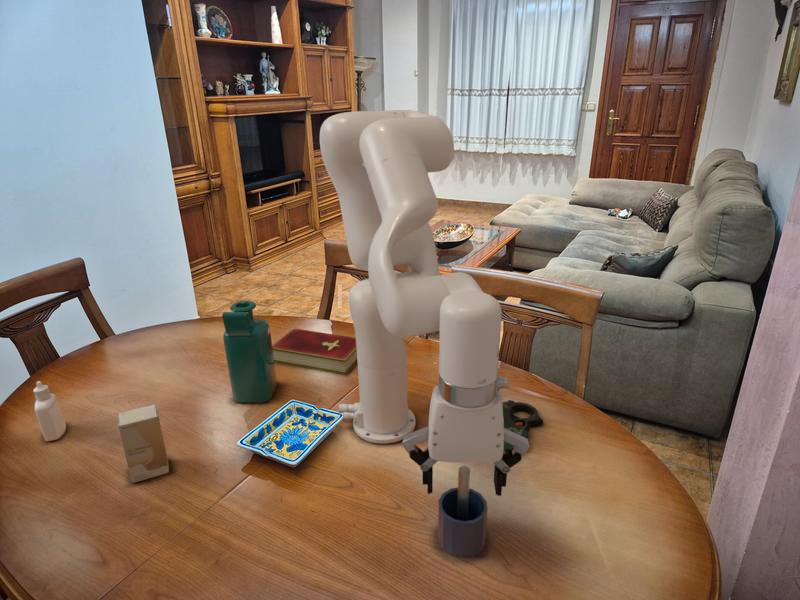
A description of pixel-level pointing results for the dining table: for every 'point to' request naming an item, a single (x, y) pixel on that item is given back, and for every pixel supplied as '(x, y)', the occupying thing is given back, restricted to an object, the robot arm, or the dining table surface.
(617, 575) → the dining table surface
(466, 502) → the stylus
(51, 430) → the eye dropper bottle
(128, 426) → the cosmetic box
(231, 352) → the green bottle
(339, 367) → the hardcover book
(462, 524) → the pen cup
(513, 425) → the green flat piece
